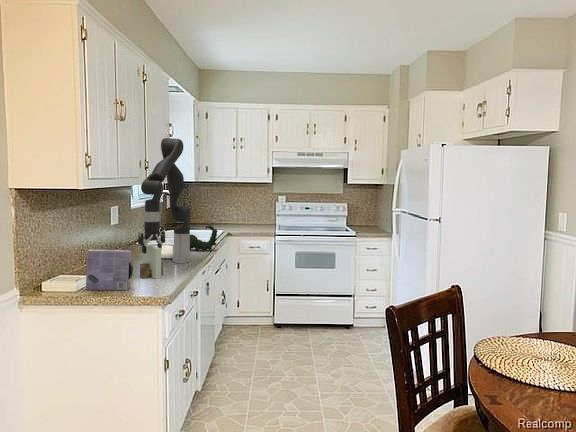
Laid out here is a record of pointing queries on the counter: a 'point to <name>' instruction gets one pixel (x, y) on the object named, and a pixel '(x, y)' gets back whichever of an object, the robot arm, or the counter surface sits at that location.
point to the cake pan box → (108, 270)
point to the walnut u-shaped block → (147, 270)
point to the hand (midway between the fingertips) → (151, 252)
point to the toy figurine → (204, 245)
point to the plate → (166, 251)
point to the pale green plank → (153, 260)
